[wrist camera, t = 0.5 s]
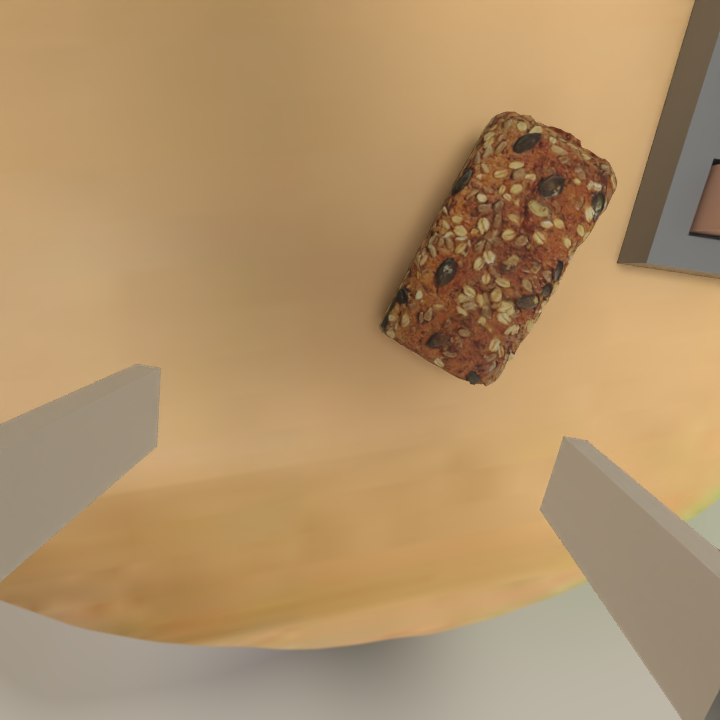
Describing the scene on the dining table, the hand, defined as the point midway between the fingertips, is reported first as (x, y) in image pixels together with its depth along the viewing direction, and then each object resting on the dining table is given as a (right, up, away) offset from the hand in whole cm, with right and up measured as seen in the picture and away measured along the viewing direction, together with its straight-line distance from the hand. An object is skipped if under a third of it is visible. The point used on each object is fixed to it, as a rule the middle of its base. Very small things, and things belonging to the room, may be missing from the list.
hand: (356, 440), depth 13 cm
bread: (+11, +12, +25) cm, 29 cm away
